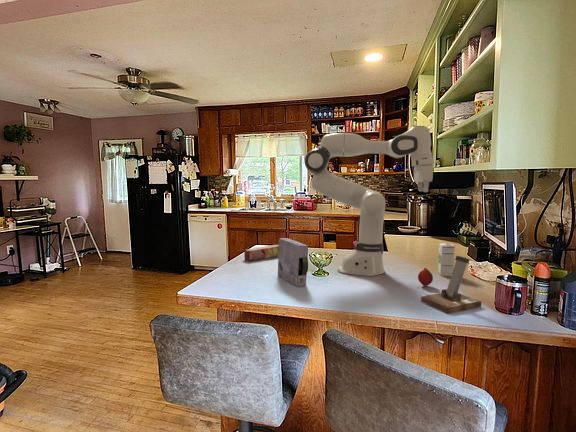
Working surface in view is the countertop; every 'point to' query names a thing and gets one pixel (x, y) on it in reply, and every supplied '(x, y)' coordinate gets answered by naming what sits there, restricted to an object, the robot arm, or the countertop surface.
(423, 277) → the onion
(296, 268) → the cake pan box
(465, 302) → the switch base
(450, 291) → the lever
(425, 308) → the countertop surface
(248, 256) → the snack package
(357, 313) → the countertop surface
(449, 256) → the white cylindrical container
